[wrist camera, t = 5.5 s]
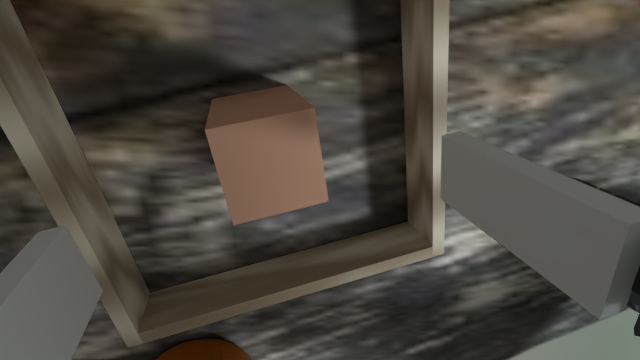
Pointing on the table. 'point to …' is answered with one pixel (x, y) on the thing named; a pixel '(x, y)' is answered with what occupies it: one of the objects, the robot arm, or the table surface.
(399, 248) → the frame
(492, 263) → the table surface
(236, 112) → the block
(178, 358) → the wine bottle
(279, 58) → the table surface
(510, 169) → the robot arm
